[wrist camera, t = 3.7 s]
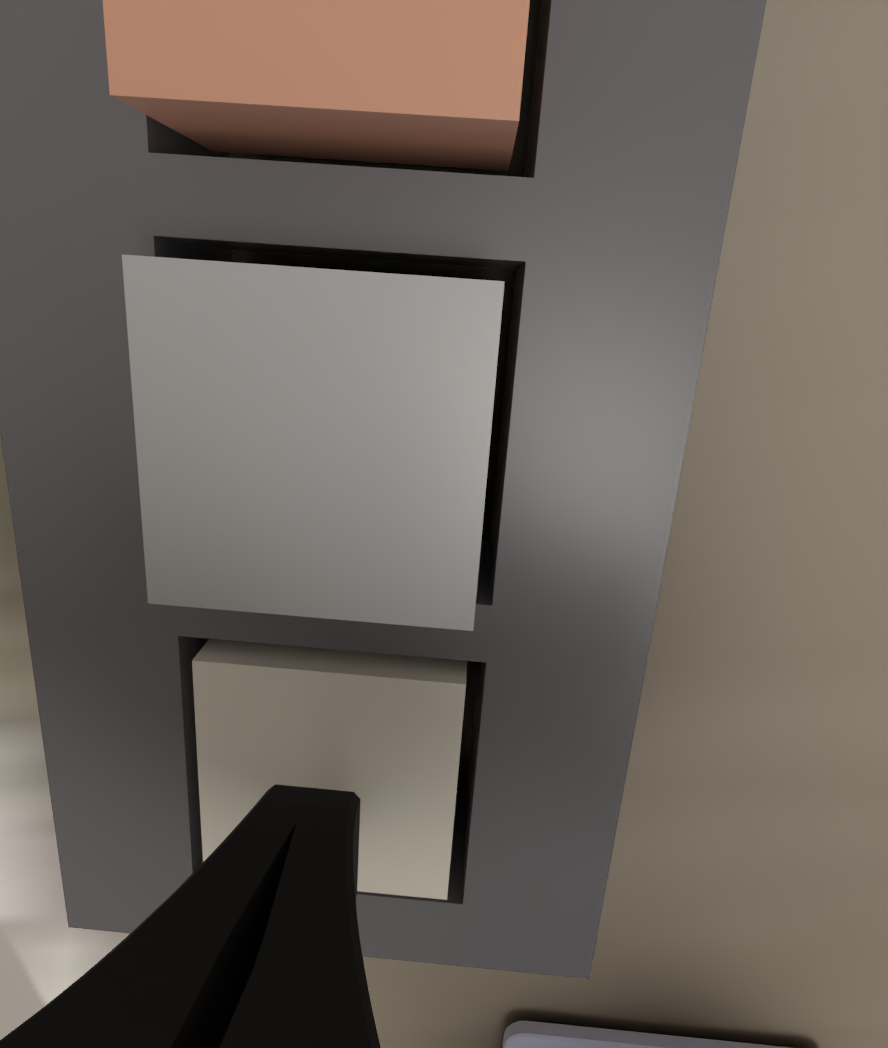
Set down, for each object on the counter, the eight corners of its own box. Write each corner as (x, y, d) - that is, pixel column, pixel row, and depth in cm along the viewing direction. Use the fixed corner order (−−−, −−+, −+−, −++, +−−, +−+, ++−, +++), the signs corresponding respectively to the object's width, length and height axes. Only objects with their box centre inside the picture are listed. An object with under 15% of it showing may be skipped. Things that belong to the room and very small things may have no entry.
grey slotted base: (569, 856, 16) (588, 978, 13) (141, 815, 16) (68, 927, 13) (750, -296, 9) (866, -549, 7) (41, -327, 10) (-141, -584, 7)
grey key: (475, 552, 12) (472, 630, 9) (226, 531, 12) (148, 603, 9) (498, 285, 11) (505, 281, 8) (217, 265, 11) (121, 254, 8)
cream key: (453, 786, 15) (446, 899, 12) (255, 768, 15) (203, 876, 12) (469, 604, 14) (466, 683, 11) (251, 586, 14) (192, 660, 11)
